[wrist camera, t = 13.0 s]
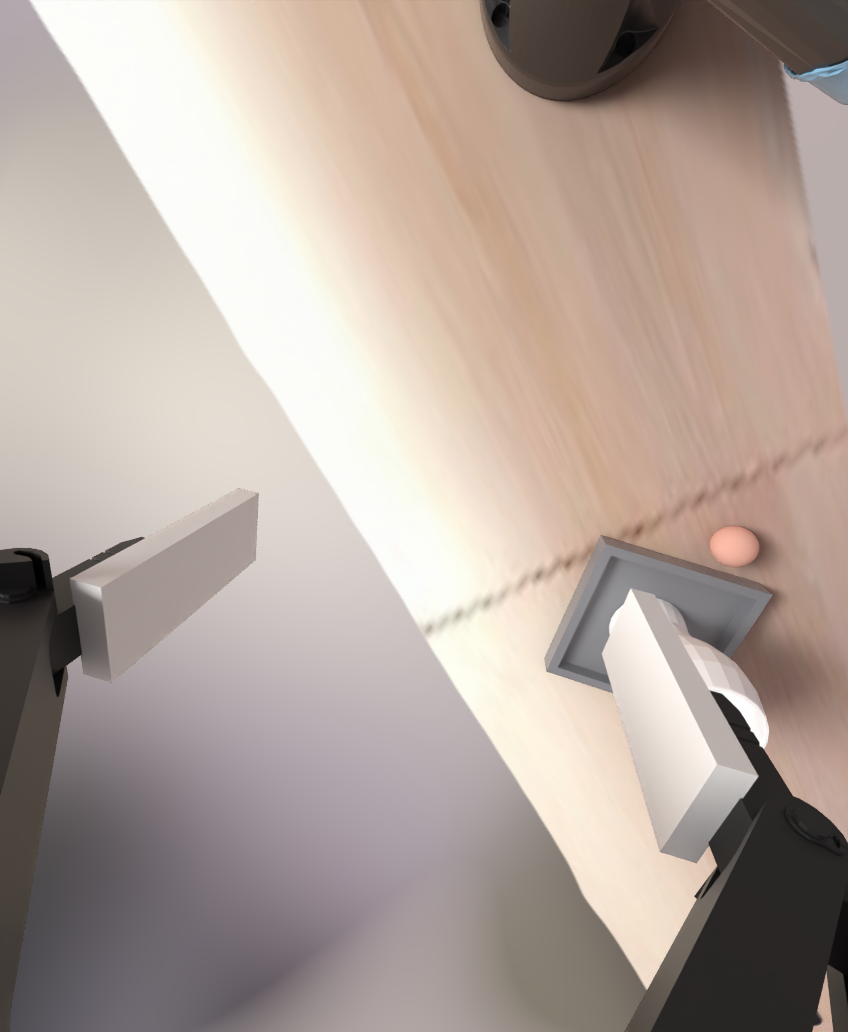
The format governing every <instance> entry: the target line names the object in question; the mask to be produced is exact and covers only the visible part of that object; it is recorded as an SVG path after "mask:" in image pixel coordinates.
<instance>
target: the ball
mask: <svg viewBox="0 0 848 1032" xmlns="http://www.w3.org/2000/svg"><path fill="white" fill-rule="evenodd" d="M710 551H711V554H712V555H713V557H714V558H715V559H716V560H717V561H718V562H720V563H722V564H724V565H726V566H730V567H740V566H744V565H747V564H749V563H751V562H752V561H753V560H754V559H755V558H756V557H757V555H758V552H759V542H758V540H757V538H756V536H755V535H754V534H753V533H752V532H751V531H749V530H747V529H745V528H743V527H739V526H729V527H724V528H722V529H720V530H718V531H717V532H716V533H715V534H714V535H713V536H712V538H711V540H710Z"/></svg>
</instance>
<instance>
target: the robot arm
mask: <svg viewBox="0 0 848 1032" xmlns="http://www.w3.org/2000/svg"><path fill="white" fill-rule="evenodd" d="M680 1H681V0H480V9H481V16H482V22H483V26H484V30H485V34H486V37H487V40H488V43H489V45H490V47H491V50H492V52H493V54H494V56H495V58H496V59H497V61H498V63H499V64H500V66H501V67H502V68H503V70H504V71H505V72H506V73H507V74H508V76H509V77H510V78H511V79H512V80H514V81H515V82H516V83H517V84H518V85H520V86H521V87H522V88H524V89H526V90H527V91H529V92H531V93H533V94H536V95H538V96H541V97H544V98H549V99H555V100H572V99H579V98H583V97H587V96H590V95H593V94H596V93H598V92H601V91H603V90H605V89H607V88H609V87H610V86H612V85H614V84H615V83H617V82H618V81H620V80H621V79H623V78H624V77H625V76H627V75H628V74H629V73H630V72H631V71H633V70H634V69H635V68H636V67H637V66H638V65H639V64H640V63H641V62H642V61H643V60H644V59H645V57H646V56H647V55H648V54H649V53H650V52H651V50H652V49H653V48H654V46H655V45H656V44H657V42H658V41H659V39H660V38H661V36H662V35H663V33H664V32H665V30H666V28H667V27H668V25H669V23H670V21H671V19H672V17H673V15H674V13H675V11H676V9H677V7H678V5H679V3H680ZM706 1H707V2H708V3H710V4H711V5H712V6H713V7H715V8H716V9H717V10H718V11H720V12H721V13H722V14H723V15H725V16H726V17H727V18H728V19H730V20H731V21H732V22H733V23H735V24H736V25H737V26H738V27H740V28H741V29H742V30H743V31H745V32H746V33H747V34H748V35H750V36H751V37H752V38H753V39H754V40H756V41H757V42H758V43H759V44H761V45H762V46H763V47H764V48H766V49H767V50H768V51H769V52H771V53H772V54H773V55H774V56H776V57H777V58H778V59H779V60H781V61H782V62H783V63H784V69H785V71H786V73H787V74H788V75H789V76H790V77H791V78H793V79H798V80H800V81H808V82H810V83H811V84H812V85H814V86H815V87H817V88H818V89H820V90H821V91H822V92H824V93H826V94H827V95H828V96H830V97H831V98H833V99H834V100H836V101H837V102H839V103H841V104H844V105H848V0H706ZM258 496H259V494H258V493H256V492H252V491H248V490H244V489H240V488H238V489H236V490H235V491H232V492H231V493H229V494H227V495H225V496H223V497H221V498H219V499H218V500H216V501H214V502H212V503H210V504H208V505H206V506H205V507H203V508H201V509H199V510H197V511H195V512H193V513H191V514H190V515H188V516H186V517H184V518H182V519H180V520H178V521H177V522H175V523H173V524H171V525H169V526H167V527H166V528H163V529H162V530H160V531H158V532H156V533H154V534H152V535H150V536H148V537H147V538H144V537H140V538H136V539H133V540H129V541H125V542H121V543H119V544H118V545H116V546H114V547H112V548H110V549H108V550H106V551H105V553H103V552H102V553H100V554H98V555H96V556H94V557H92V560H90V559H88V560H86V561H84V562H82V563H81V564H79V565H77V566H75V567H73V568H71V569H69V570H67V571H65V572H63V573H61V574H59V575H57V576H55V577H54V578H52V575H51V569H50V563H49V557H48V554H46V553H45V552H43V551H41V550H37V549H32V548H12V549H5V550H0V1032H10V1014H11V1006H12V999H13V994H14V988H15V982H16V976H17V971H18V965H19V959H20V953H21V947H22V941H23V936H24V930H25V923H26V918H27V912H28V907H29V901H30V895H31V889H32V883H33V878H34V872H35V866H36V860H37V854H38V849H39V843H40V837H41V831H42V825H43V819H44V814H45V808H46V802H47V796H48V791H49V785H50V779H51V773H52V767H53V762H54V756H55V750H56V744H57V738H58V733H59V727H60V721H61V715H62V709H63V704H64V698H65V692H66V686H67V680H68V673H67V667H66V665H68V664H69V663H71V662H72V661H73V660H75V659H76V658H77V657H78V656H80V655H81V660H82V667H83V674H85V675H88V676H92V677H94V678H98V679H101V680H104V681H107V682H111V683H112V682H113V681H114V680H116V679H117V678H118V677H119V676H120V675H121V674H123V673H124V672H125V671H126V670H127V669H128V668H130V667H131V666H132V665H133V664H134V663H135V662H137V661H138V660H139V659H140V658H141V657H142V656H144V655H145V654H146V653H147V652H148V651H149V650H151V649H152V648H153V647H154V646H155V645H157V644H158V643H159V642H160V641H161V640H162V639H164V638H165V637H166V636H167V635H168V634H169V633H171V632H172V631H173V630H174V629H175V628H176V627H178V626H179V625H180V624H181V623H182V622H183V621H185V620H186V619H187V618H188V617H189V616H190V615H192V614H193V613H194V612H195V611H196V610H198V609H199V608H200V607H201V606H202V605H203V604H205V603H206V602H207V601H208V600H209V599H210V598H212V597H213V596H214V595H215V594H216V593H217V592H218V591H220V590H221V589H222V588H223V587H225V586H226V585H227V584H228V583H229V582H230V581H232V580H233V579H234V578H235V577H236V576H237V575H239V574H240V573H241V572H242V571H243V570H244V569H246V568H247V567H248V566H249V565H250V564H251V563H253V562H254V561H255V560H256V539H257V518H258ZM602 656H603V660H604V663H605V666H606V670H607V673H608V677H609V680H610V683H611V687H612V690H613V694H614V697H615V700H616V704H617V707H618V711H619V714H620V717H621V721H622V724H623V728H624V731H625V734H626V738H627V741H628V745H629V748H630V751H631V755H632V758H633V762H634V765H635V768H636V772H637V775H638V779H639V782H640V785H641V789H642V792H643V796H644V799H645V802H646V806H647V809H648V813H649V816H650V819H651V823H652V826H653V830H654V833H655V836H656V840H657V843H658V847H659V850H660V852H662V853H665V854H669V855H672V856H675V857H678V858H682V859H685V860H688V861H691V862H694V863H697V862H698V860H699V859H700V857H701V856H702V855H703V853H704V852H705V850H706V849H707V848H708V846H710V848H711V851H712V853H713V856H714V858H715V861H716V863H717V867H716V868H715V870H714V871H713V872H712V874H711V875H710V876H709V878H708V879H707V880H706V882H705V883H704V884H703V885H702V887H701V888H700V889H699V891H698V892H697V893H696V895H695V896H694V897H695V898H697V900H696V902H695V904H694V906H693V908H692V909H691V911H690V913H689V915H688V917H687V918H686V920H685V922H684V924H683V926H682V928H681V929H680V931H679V933H678V935H677V937H676V939H675V940H674V942H673V944H672V946H671V948H670V950H669V951H668V953H667V955H666V957H665V959H664V960H663V962H662V964H661V966H660V968H659V970H658V971H657V973H656V975H655V977H654V979H653V981H652V982H651V984H650V986H649V988H648V990H647V992H646V994H645V995H644V997H643V999H642V1001H641V1002H640V1004H639V1006H638V1008H637V1010H636V1012H635V1013H634V1015H633V1017H632V1019H631V1021H630V1023H629V1024H628V1026H627V1028H626V1030H625V1032H812V1030H813V1026H814V1022H815V1017H816V1013H817V1009H818V1005H819V1000H820V996H821V992H822V987H823V983H824V979H825V975H826V970H827V979H828V988H829V996H830V1005H831V1014H832V1023H833V1031H834V1032H848V843H847V841H846V839H845V837H844V836H843V834H842V833H841V832H840V831H839V830H838V829H837V827H836V826H835V825H834V824H833V823H832V822H831V821H830V820H829V819H828V818H827V817H825V816H824V815H823V814H822V813H821V812H819V811H818V810H817V809H816V808H814V807H813V806H811V805H809V804H808V803H806V802H804V801H803V800H801V799H799V798H796V797H794V796H793V795H792V794H791V792H790V791H789V789H788V787H787V786H786V784H785V782H784V781H783V779H782V778H781V776H780V774H779V773H778V771H777V770H776V768H775V766H774V765H773V763H772V762H771V760H770V758H769V757H768V755H767V754H766V752H765V750H764V749H763V747H761V746H760V742H759V741H758V739H757V738H756V736H755V734H754V733H753V732H751V730H750V729H751V728H750V726H749V725H748V723H747V722H746V720H745V718H744V717H743V715H742V714H741V712H740V711H739V710H738V709H737V708H736V707H735V706H734V705H733V704H732V703H731V702H730V701H729V700H728V699H727V698H726V697H725V696H724V695H723V694H721V693H718V692H714V691H710V690H709V689H708V687H707V685H706V684H705V682H704V680H703V678H702V677H701V675H700V673H699V671H698V670H697V668H696V666H695V664H694V663H693V661H692V659H691V657H690V656H689V654H688V652H687V650H686V649H685V647H684V645H683V643H682V642H681V640H680V638H679V636H678V635H677V633H676V631H675V629H674V628H673V626H672V624H671V622H670V621H669V619H668V617H667V615H666V614H665V612H664V610H663V608H662V607H661V605H660V603H659V601H658V600H657V598H656V596H655V594H652V593H648V592H644V591H640V590H636V589H632V588H631V589H630V591H629V593H628V595H627V598H626V600H625V602H624V605H623V607H622V609H621V611H620V614H619V616H618V618H617V620H616V623H615V625H614V627H613V629H612V632H611V634H610V636H609V638H608V641H607V643H606V645H605V648H604V650H603V652H602Z"/></svg>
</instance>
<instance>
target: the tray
mask: <svg viewBox="0 0 848 1032" xmlns="http://www.w3.org/2000/svg"><path fill="white" fill-rule="evenodd" d="M631 588H632V589H636V590H640V591H644V592H648V593H652V594H655V596H656V598H658V599H662V600H664V601H667V602H669V603H671V604H672V605H673V606H675V607H676V608H677V609H678V611H679V612H680V613H681V615H682V617H683V619H684V621H685V624H686V627H687V630H688V633H689V634H690V635H691V636H692V637H693V638H696V639H698V640H701V641H703V642H705V643H708V644H709V645H711V646H713V647H714V648H716V649H717V650H719V651H720V652H722V653H723V654H725V655H726V656H727V657H728V658H730V659H731V658H732V656H733V655H734V653H735V652H736V650H737V649H738V647H739V646H740V644H741V643H742V641H743V640H744V638H745V637H746V635H747V634H748V632H749V630H750V629H751V627H752V626H753V624H754V623H755V621H756V620H757V618H758V617H759V615H760V614H761V612H762V611H763V609H764V608H765V606H766V605H767V603H768V602H769V600H770V599H771V597H772V596H773V595H772V594H771V593H770V592H769V591H768V590H766V589H765V588H764V587H763V586H762V585H761V584H760V583H756V582H753V581H750V580H746V579H743V578H740V577H737V576H733V575H730V574H727V573H723V572H720V571H717V570H714V569H710V568H707V567H704V566H700V565H697V564H694V563H691V562H687V561H684V560H681V559H677V558H674V557H671V556H668V555H664V554H661V553H658V552H655V551H651V550H648V549H645V548H641V547H638V546H635V545H632V544H628V543H625V542H622V541H618V540H615V539H612V538H609V537H605V536H602V535H601V536H600V538H599V540H598V542H597V545H596V547H595V549H594V551H593V553H592V555H591V558H590V560H589V562H588V564H587V566H586V569H585V571H584V573H583V575H582V577H581V580H580V582H579V584H578V586H577V588H576V590H575V593H574V595H573V597H572V599H571V601H570V604H569V606H568V608H567V610H566V612H565V615H564V617H563V619H562V621H561V623H560V625H559V628H558V630H557V632H556V634H555V636H554V639H553V641H552V643H551V645H550V647H549V650H548V652H547V654H546V656H545V665H546V671H547V672H550V673H553V674H556V675H559V676H562V677H565V678H568V679H571V680H574V681H577V682H580V683H583V684H586V685H590V686H593V687H596V688H599V689H602V690H605V691H608V692H611V693H613V690H612V687H611V683H610V680H609V677H608V673H607V670H606V666H605V663H604V660H603V656H602V652H603V650H604V648H605V645H606V643H607V641H608V638H609V636H610V634H609V624H610V621H611V618H612V616H613V615H614V613H615V612H616V610H618V609H619V608H620V607H621V606H622V605H624V602H625V600H626V598H627V595H628V593H629V591H630V589H631Z"/></svg>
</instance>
